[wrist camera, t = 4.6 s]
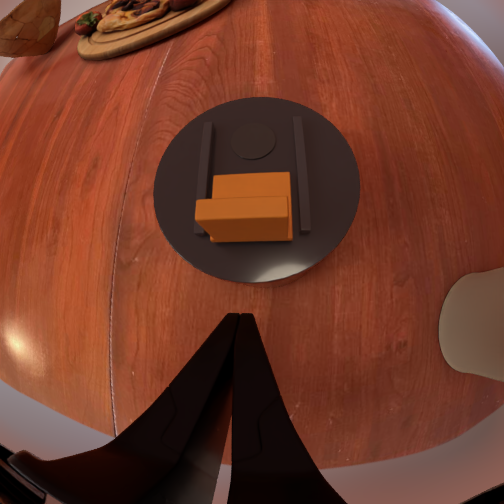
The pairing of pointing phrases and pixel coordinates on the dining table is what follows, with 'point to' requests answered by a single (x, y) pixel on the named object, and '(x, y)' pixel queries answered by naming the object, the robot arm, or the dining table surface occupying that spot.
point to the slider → (248, 208)
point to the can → (475, 325)
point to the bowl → (30, 28)
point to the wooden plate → (137, 24)
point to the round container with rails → (259, 161)
